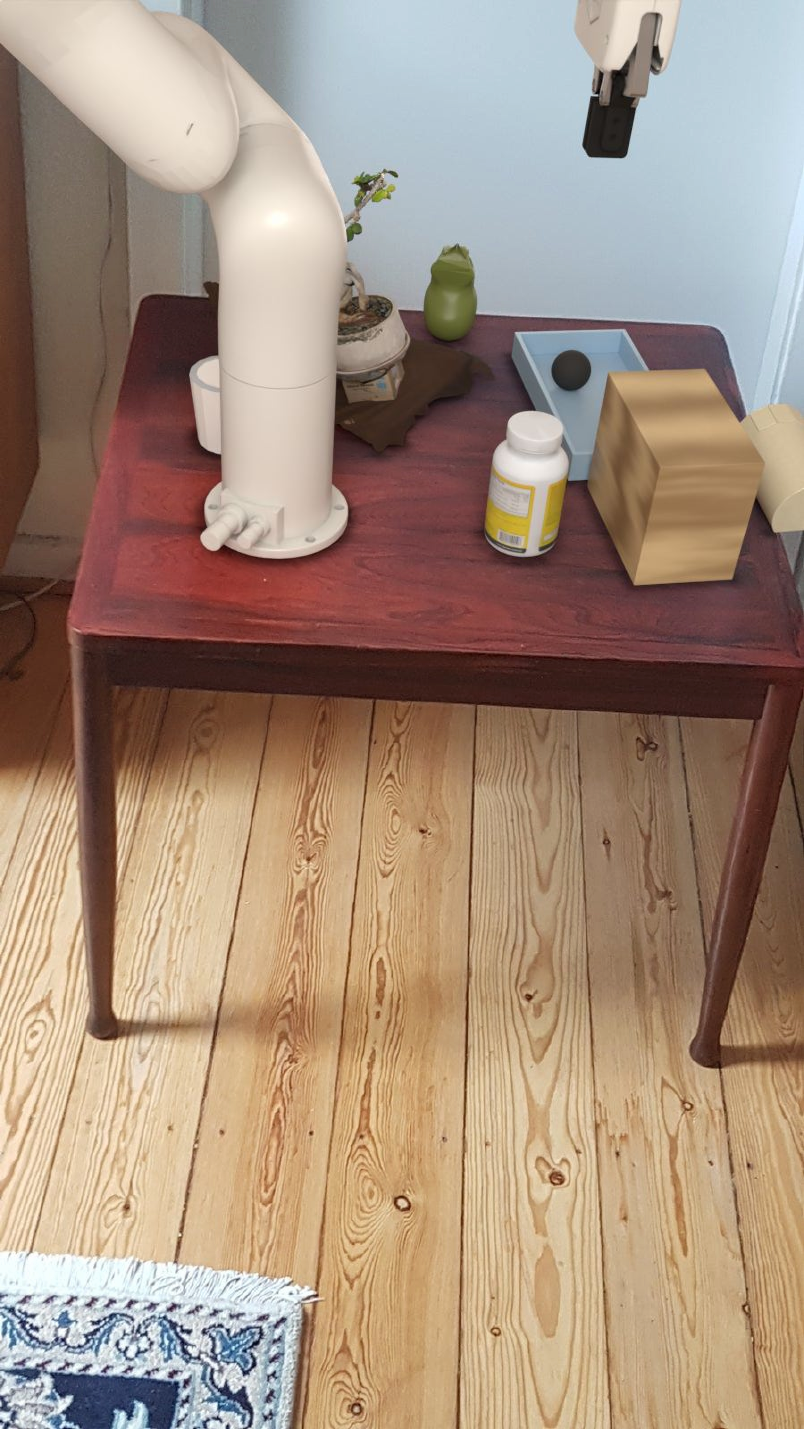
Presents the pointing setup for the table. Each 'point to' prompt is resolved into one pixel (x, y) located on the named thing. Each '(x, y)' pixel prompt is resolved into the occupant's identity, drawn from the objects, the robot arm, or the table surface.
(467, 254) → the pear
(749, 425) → the jar
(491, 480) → the pill bottle
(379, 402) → the potted plant
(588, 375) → the ball
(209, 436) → the shot glass
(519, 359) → the tray
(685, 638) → the table surface
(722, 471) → the plinth
